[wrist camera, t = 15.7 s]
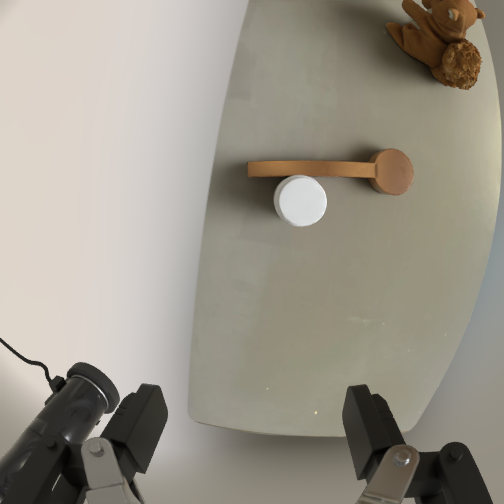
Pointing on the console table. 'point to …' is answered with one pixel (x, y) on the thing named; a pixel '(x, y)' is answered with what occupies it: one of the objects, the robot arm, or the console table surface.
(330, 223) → the console table surface
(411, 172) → the wooden spoon
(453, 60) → the stuffed squirrel
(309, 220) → the pill bottle
